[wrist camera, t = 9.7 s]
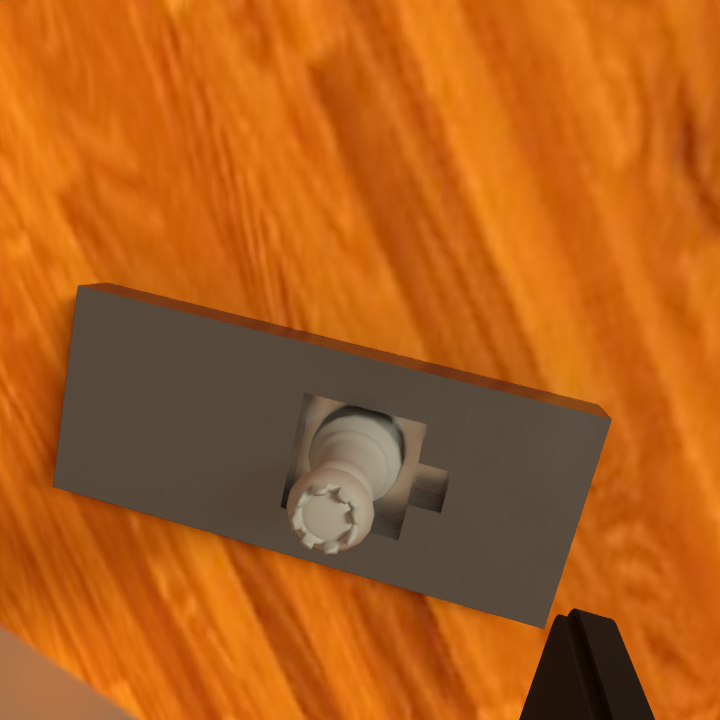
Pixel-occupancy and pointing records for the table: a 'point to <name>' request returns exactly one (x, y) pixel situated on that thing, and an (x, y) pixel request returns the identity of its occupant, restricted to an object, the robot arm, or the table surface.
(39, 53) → the table surface
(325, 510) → the rook chess piece
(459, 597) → the pocket plate
